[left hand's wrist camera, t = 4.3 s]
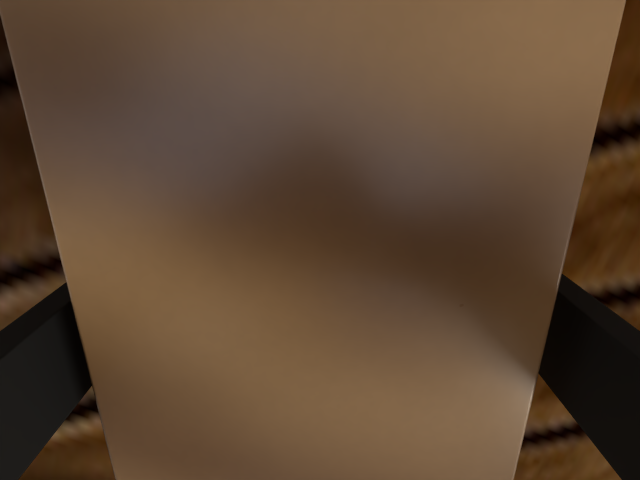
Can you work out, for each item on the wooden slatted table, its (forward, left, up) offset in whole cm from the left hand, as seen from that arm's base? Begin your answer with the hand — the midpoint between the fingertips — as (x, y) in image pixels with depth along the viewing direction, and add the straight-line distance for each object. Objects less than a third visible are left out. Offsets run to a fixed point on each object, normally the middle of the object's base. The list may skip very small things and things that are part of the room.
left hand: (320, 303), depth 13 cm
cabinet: (+1, +5, -7) cm, 8 cm away
